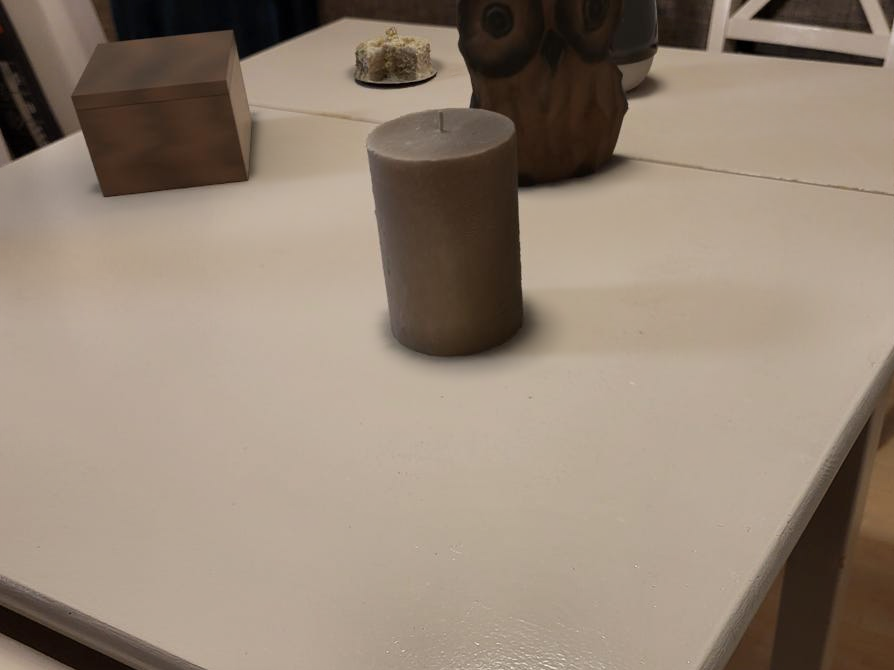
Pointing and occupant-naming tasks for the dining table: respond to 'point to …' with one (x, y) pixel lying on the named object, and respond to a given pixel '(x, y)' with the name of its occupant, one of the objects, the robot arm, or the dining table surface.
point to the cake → (393, 59)
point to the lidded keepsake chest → (165, 113)
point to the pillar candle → (449, 228)
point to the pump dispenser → (636, 41)
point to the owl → (547, 79)
